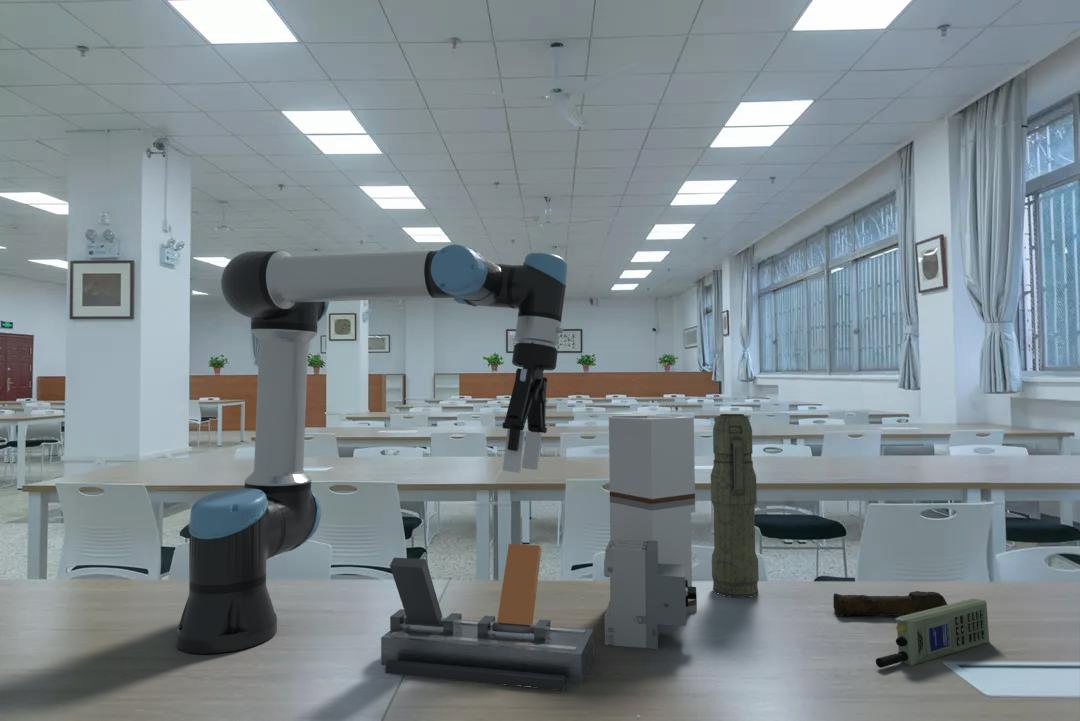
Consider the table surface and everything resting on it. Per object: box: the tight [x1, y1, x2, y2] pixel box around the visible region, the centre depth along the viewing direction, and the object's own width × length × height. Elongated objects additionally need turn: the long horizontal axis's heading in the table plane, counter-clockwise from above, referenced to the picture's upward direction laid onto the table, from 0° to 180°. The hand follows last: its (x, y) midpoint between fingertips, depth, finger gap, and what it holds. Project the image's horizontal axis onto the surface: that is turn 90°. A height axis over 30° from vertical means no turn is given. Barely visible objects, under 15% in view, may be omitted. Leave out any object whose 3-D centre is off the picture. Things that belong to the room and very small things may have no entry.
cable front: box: [384, 660, 566, 691], centre depth 97 cm, size 26×1×1 cm, turn 76°
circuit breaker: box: [603, 538, 698, 649], centre depth 113 cm, size 8×14×15 cm, turn 78°
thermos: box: [710, 413, 760, 599], centre depth 139 cm, size 9×12×35 cm
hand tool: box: [832, 590, 949, 617], centre depth 122 cm, size 19×4×5 cm, turn 81°
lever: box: [492, 543, 542, 634], centre depth 107 cm, size 6×2×13 cm
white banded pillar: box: [608, 415, 698, 615], centre depth 129 cm, size 11×11×35 cm
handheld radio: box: [875, 598, 990, 669], centre depth 105 cm, size 7×3×25 cm
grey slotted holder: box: [380, 608, 594, 684], centre depth 104 cm, size 30×10×6 cm, turn 76°
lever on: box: [389, 557, 444, 627], centre depth 104 cm, size 6×2×13 cm
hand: (520, 470), depth 116 cm, fingers open, 13 cm apart
